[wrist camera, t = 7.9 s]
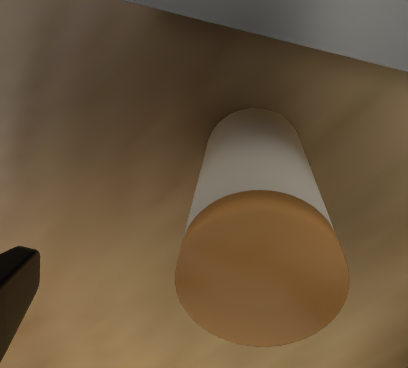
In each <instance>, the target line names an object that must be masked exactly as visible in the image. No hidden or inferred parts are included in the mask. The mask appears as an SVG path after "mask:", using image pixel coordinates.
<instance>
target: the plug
mask: <svg viewBox="0 0 408 368" xmlns="http://www.w3.org/2000/svg"><path fill="white" fill-rule="evenodd" d="M175 285H176V290H177V294H178V297H179V300H180V302H181V303H182V305H183V307H184V309H185V310H186V312H187V313H188V314H189V315H190V317H191V318H192V319H193V320H194V321H195V322H196V323H198V324H199V325H200V326H201V327H202V328H204V329H205V330H207V331H208V332H210V333H212V334H214V335H216V336H217V337H220V338H222V339H225V340H227V341H230V342H234V343H237V344H242V345H247V346H257V347H269V346H280V345H285V344H290V343H293V342H297V341H300V340H302V339H305V338H307V337H309V336H311V335H313V334H315V333H317V332H318V331H320V330H321V329H323V328H324V327H325V326H327V325H328V324H329V323H330V322H331V321H332V320H333V319H334V318H335V317H336V315H337V314H338V313H339V311H340V310H341V308H342V307H343V305H344V302H345V300H346V298H347V294H348V290H349V270H348V267H347V263H346V260H345V257H344V255H343V252H342V249H341V247H340V244H339V242H338V239H337V236H336V234H335V231H334V228H333V226H332V223H331V220H330V218H329V215H328V213H327V210H326V207H325V205H324V202H323V199H322V197H321V194H320V192H319V189H318V186H317V184H316V181H315V178H314V176H313V173H312V170H311V168H310V165H309V163H308V160H307V157H306V155H305V152H304V149H303V147H302V144H301V142H300V139H299V136H298V134H297V132H296V130H295V129H294V127H293V126H292V125H291V123H290V122H289V121H288V120H287V119H285V118H284V117H283V116H281V115H280V114H278V113H276V112H274V111H271V110H268V109H262V108H247V109H242V110H239V111H236V112H233V113H231V114H229V115H228V116H226V117H225V118H223V119H222V120H221V121H220V122H219V123H218V124H217V125H216V126H215V128H214V129H213V131H212V133H211V135H210V137H209V139H208V143H207V147H206V150H205V154H204V158H203V162H202V166H201V170H200V174H199V178H198V182H197V186H196V190H195V194H194V198H193V202H192V206H191V210H190V214H189V218H188V222H187V226H186V230H185V234H184V238H183V242H182V246H181V250H180V254H179V257H178V261H177V265H176V272H175Z"/></svg>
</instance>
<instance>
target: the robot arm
mask: <svg viewBox="0 0 408 368" xmlns="http://www.w3.org/2000/svg"><path fill="white" fill-rule="evenodd" d="M39 281H40V253H39V251H37V250H36V249H31V248H27V247H23V246H17V247H14V248H12V249H10V250H8V251H6V252H4V253H1V254H0V362H1V360H2V359H3V357H4V355H5V353H6V351H7V349H8V347H9V345H10V343H11V341H12V339H13V337H14V335H15V333H16V331H17V329H18V327H19V325H20V323H21V322H22V320H23V318H24V316H25V314H26V312H27V310H28V308H29V306H30V304H31V302H32V300H33V298H34V296H35V294H36V292H37V289H38V286H39Z"/></svg>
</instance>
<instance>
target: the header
mask: <svg viewBox="0 0 408 368" xmlns="http://www.w3.org/2000/svg"><path fill="white" fill-rule="evenodd" d="M123 1H127V2H131V3H135V4H139V5H143V6H147V7H151V8H155V9H159V10H163V11H167V12H171V13H175V14H179V15H183V16H187V17H191V18H195V19H199V20H203V21H207V22H211V23H215V24H219V25H223V26H227V27H231V28H235V29H239V30H243V31H247V32H251V33H255V34H258V35H262V36H266V37H270V38H274V39H278V40H282V41H286V42H290V43H294V44H298V45H302V46H306V47H310V48H314V49H318V50H322V51H326V52H330V53H334V54H338V55H342V56H346V57H350V58H354V59H358V60H362V61H366V62H370V63H374V64H378V65H382V66H386V67H390V68H394V69H398V70H402V71H406V72H408V0H123Z"/></svg>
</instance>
